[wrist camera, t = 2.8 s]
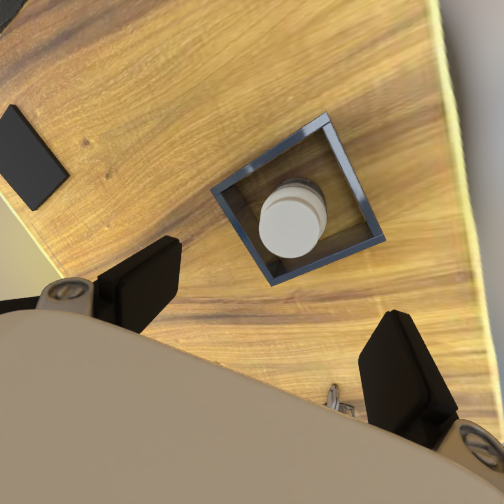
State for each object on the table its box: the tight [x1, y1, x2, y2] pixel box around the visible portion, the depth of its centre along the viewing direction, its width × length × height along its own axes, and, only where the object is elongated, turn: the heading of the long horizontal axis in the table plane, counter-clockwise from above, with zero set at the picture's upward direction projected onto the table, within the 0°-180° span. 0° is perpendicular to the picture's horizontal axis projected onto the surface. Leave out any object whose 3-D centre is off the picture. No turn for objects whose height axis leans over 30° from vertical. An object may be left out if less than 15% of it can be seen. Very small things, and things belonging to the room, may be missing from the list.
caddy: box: [210, 112, 386, 287], centre depth 25 cm, size 12×12×5 cm
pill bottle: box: [259, 177, 327, 258], centre depth 23 cm, size 6×6×10 cm
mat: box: [0, 104, 70, 211], centre depth 34 cm, size 10×10×1 cm
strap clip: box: [325, 385, 355, 418], centre depth 37 cm, size 8×3×4 cm
